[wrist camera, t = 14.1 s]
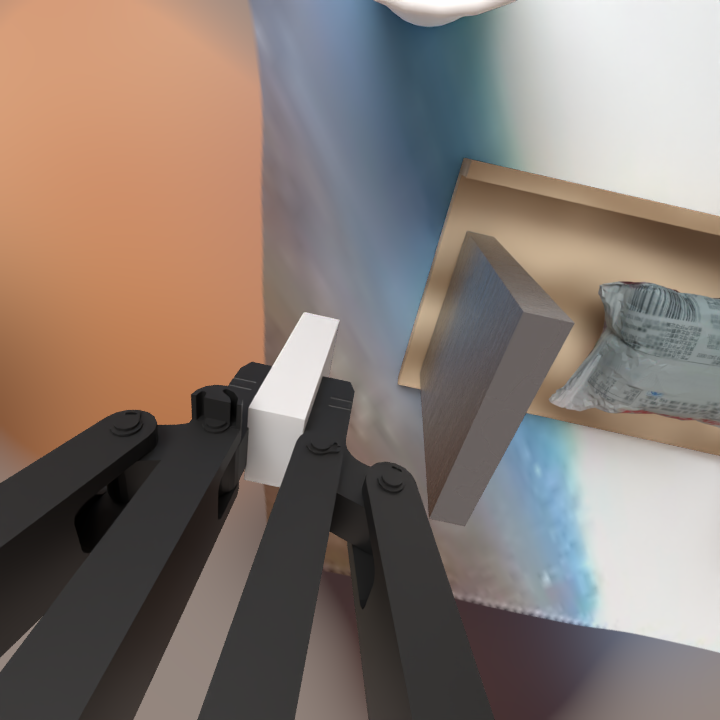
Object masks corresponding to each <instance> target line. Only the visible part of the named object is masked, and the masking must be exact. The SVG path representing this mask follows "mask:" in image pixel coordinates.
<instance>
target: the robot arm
mask: <svg viewBox="0 0 720 720" xmlns="http://www.w3.org/2000/svg"><path fill="white" fill-rule="evenodd" d="M338 325H339V320H338V319H333V318H329V317H324V316H319V315H315V314H310V313H306V312H304V313H303V315H302V316H301V318H300V320H299V321H298V323H297V325H296V327H295V328H294V330H293V332H292V333H291V335H290V337H289V339H288V340H287V342H286V344H285V346H284V347H283V349H282V351H281V352H280V354H279V356H278V358H277V359H276V361H275V363H274V365H273V366H269V365H264V364H260V363H255V362H251V363H249V364H247V365H245V366H243V367H242V368H240V370H239V371H238V373H237V374H236V375H235V377H234V379H232V381H231V382H230V384H229V386H223V385H213V386H206V387H203V388H200V389H198V390H196V391H195V392H194V393H192V394H191V403H192V420H191V421H190V422H189V423H187V424H179V425H157V422H156V419H155V417H154V416H153V415H151V414H150V413H148V412H145V411H141V410H126V411H121V412H117V413H114V414H112V415H110V416H108V417H106V418H104V419H103V420H101V421H99V422H98V423H96V424H95V425H93V426H91V427H90V428H88V429H86V430H85V431H83V432H82V433H80V434H78V435H77V436H75V437H74V438H72V439H71V440H69V441H67V442H66V443H64V444H62V445H61V446H59V447H58V448H56V449H55V450H53V451H51V452H50V453H48V454H46V455H45V456H43V457H42V458H40V459H38V460H37V461H35V462H34V463H32V464H30V465H29V466H28V467H26V468H24V469H22V470H21V471H19V472H18V473H16V474H14V475H13V476H11V477H10V478H8V479H7V480H5V481H3V482H2V483H0V657H1V656H2V655H3V654H4V653H5V652H6V651H7V650H8V649H9V648H10V647H11V646H13V644H15V643H16V641H18V640H19V639H20V638H21V637H22V636H23V635H24V634H25V633H26V632H27V631H28V630H29V629H30V628H31V627H32V626H33V625H34V624H35V623H36V622H37V621H38V620H39V619H40V618H41V617H42V616H43V617H42V618H41V619H40V621H39V622H38V623H37V625H36V626H35V627H34V628H33V630H32V631H31V632H30V634H29V635H28V636H27V638H26V639H25V640H24V642H23V643H22V644H21V646H20V647H19V648H18V650H17V651H16V652H15V653H14V655H13V656H12V657H11V659H10V660H9V662H8V663H7V664H6V666H5V667H4V668H3V669H2V671H1V672H0V720H133V719H134V717H135V715H136V712H137V711H138V708H139V706H140V704H141V702H142V700H143V698H144V695H145V693H146V691H147V689H148V687H149V685H150V682H151V680H152V678H153V676H154V674H155V672H156V669H157V667H158V665H159V663H160V661H161V659H162V656H163V654H164V652H165V650H166V648H167V646H168V643H169V641H170V639H171V637H172V635H173V633H174V631H175V628H176V626H177V624H178V622H179V620H180V617H181V615H182V613H183V611H184V609H185V607H186V605H187V602H188V600H189V598H190V596H191V594H192V591H193V589H194V587H195V585H196V583H197V581H198V579H199V577H200V574H201V572H202V570H203V568H204V566H205V563H206V561H207V559H208V557H209V555H210V553H211V551H212V548H213V546H214V544H215V542H216V540H217V538H218V535H219V533H220V531H221V529H222V527H223V525H224V522H225V520H226V518H227V516H228V514H229V512H230V509H231V507H232V505H233V503H234V501H235V499H236V497H237V494H238V489H239V480H240V477H241V475H242V473H243V471H244V469H245V475H244V479H245V480H248V481H253V482H258V483H262V484H267V485H272V486H276V487H280V489H279V492H278V494H277V497H276V500H275V503H274V506H273V508H272V511H271V514H270V517H269V520H268V523H267V525H266V528H265V531H264V534H263V537H262V539H261V542H260V545H259V548H258V551H257V554H256V556H255V559H254V562H253V565H252V568H251V570H250V573H249V576H248V579H247V582H246V585H245V588H244V590H243V593H242V596H241V599H240V601H239V604H238V607H237V610H236V613H235V616H234V618H233V621H232V624H231V627H230V629H229V632H228V635H227V638H226V641H225V644H224V647H223V649H222V652H221V655H220V658H219V660H218V663H217V666H216V669H215V672H214V675H213V678H212V680H211V683H210V686H209V689H208V691H207V694H206V697H205V700H204V703H203V705H202V708H201V711H200V714H199V717H198V720H294V719H295V713H296V708H297V703H298V697H299V692H300V687H301V682H302V676H303V671H304V665H305V660H306V654H307V649H308V644H309V639H310V633H311V628H312V623H313V617H314V612H315V606H316V601H317V595H318V590H319V584H320V579H321V574H322V569H323V563H324V558H325V553H326V547H327V542H328V536H329V531H330V532H332V533H333V534H335V535H337V536H339V537H340V538H342V539H344V540H346V541H347V542H348V543H347V546H348V554H349V562H350V570H351V579H352V587H353V595H354V603H355V612H356V619H357V628H358V636H359V645H360V653H361V661H362V669H363V677H364V686H365V694H366V703H367V711H368V719H369V720H495V719H494V716H493V714H492V710H491V707H490V704H489V701H488V699H487V695H486V692H485V690H484V686H483V683H482V680H481V677H480V674H479V671H478V668H477V665H476V662H475V659H474V656H473V653H472V650H471V647H470V644H469V641H468V638H467V635H466V632H465V629H464V626H463V623H462V620H461V617H460V614H459V611H458V608H457V605H456V602H455V599H454V596H453V593H452V590H451V587H450V584H449V581H448V578H447V575H446V572H445V569H444V566H443V563H442V560H441V557H440V554H439V551H438V548H437V545H436V542H435V539H434V536H433V533H432V530H431V527H430V524H429V521H428V518H427V515H426V512H425V509H424V506H423V503H422V500H421V497H420V494H419V491H418V488H417V485H416V482H415V480H414V478H413V476H412V475H411V474H410V473H409V472H408V471H407V470H406V469H405V468H403V467H401V466H399V465H397V464H395V463H390V462H381V463H376V464H375V465H373V466H371V467H369V466H367V465H365V464H363V463H361V462H360V461H358V460H356V459H355V458H354V457H353V456H352V455H351V454H350V452H349V451H348V449H347V446H346V435H347V430H348V424H349V419H350V414H351V408H352V403H353V397H354V389H353V387H352V385H351V383H350V382H347V381H342V380H338V379H333V378H329V374H330V368H331V363H332V358H333V352H334V347H335V342H336V336H337V331H338Z"/></svg>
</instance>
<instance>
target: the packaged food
mask: <svg viewBox="0 0 720 720" xmlns="http://www.w3.org/2000/svg"><path fill="white" fill-rule="evenodd" d="M599 287H600V288H599V291H598V294H599V296H600V298H601V300H602V302H603V305H604V311H605V321H604V327H603V331H602V334H601V336H600V338H599V339H598V341H597V342H596V344H595V346H594V348H593V350H592V351H591V352H590V354H589V355H588V357H587V358H586V359H585V360H584V361H583V363H582V364H581V365H580V366H579V368H578V369H577V370H576V372H575V373H574V374H573V375H572V376H571V378H570V379H569V380H568V381H567V383H566V384H565V385H564V386H563V387H562V388H560V389H557V390H556V393H555V394H552V396H551V397H550V398H549V401H550V402H551V403H552V404H554V405H557V406H559V407H561V408H566V409H569V410H576V411H583V410H587V409H590V408H597V409H599V410H602V411H604V412H608V413H629V414H657V415H661V416H664V417H668V418H674V419H678V420H681V421H684V420H696V421H698V422H701V423H704V424H708V425H712V426H715V427H719V428H720V298H710V297H707V296H702V295H696V294H690V293H680V292H679V291H677V290H675V289H670V288H666V287H664V286H660V285H657V284H654V283H648V282H630V281H618V282H612V283H604V284H602V285H599Z"/></svg>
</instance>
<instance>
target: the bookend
mask: <svg viewBox="0 0 720 720" xmlns="http://www.w3.org/2000/svg"><path fill="white" fill-rule="evenodd" d="M574 324H575V323H574V322H573V321H572V320H571V319H570V318H569V316H568V315H567V314H566V313H565V312H564V311H563V310H562V309H561V308H560V307H559V306H558V305H557V304H556V303H555V302H554V300H553V299H552V298H551V297H550V296H549V295H548V294H547V293H546V292H545V291H544V290H543V289H542V288H541V287H540V285H539V284H538V283H537V282H536V281H535V280H534V279H533V278H532V277H531V276H530V275H529V274H528V273H527V272H526V271H525V269H524V268H523V267H522V266H521V265H520V264H519V263H518V262H517V261H516V260H515V259H514V258H513V257H512V256H511V254H510V253H509V252H508V251H507V250H506V249H505V248H504V247H503V246H502V245H501V244H500V243H499V242H498V241H497V240H496V238H495V237H493V236H488V235H484V234H479V233H475V232H471V231H467V232H466V235H465V238H464V241H463V244H462V247H461V250H460V253H459V256H458V259H457V262H456V265H455V268H454V271H453V274H452V277H451V280H450V283H449V286H448V289H447V292H446V295H445V298H444V301H443V304H442V307H441V310H440V313H439V316H438V319H437V322H436V325H435V328H434V331H433V334H432V337H431V340H430V343H429V347H428V350H427V353H426V356H425V359H424V362H423V365H422V368H421V371H420V387H421V402H422V417H423V432H424V447H425V462H426V477H427V493H428V508H429V519H434V520H439V521H443V522H448V523H452V524H457V525H462V526H465V525H466V523H467V521H468V519H469V518H470V516H471V514H472V512H473V510H474V508H475V506H476V505H477V503H478V501H479V499H480V497H481V495H482V494H483V492H484V490H485V488H486V486H487V484H488V482H489V481H490V479H491V477H492V475H493V473H494V471H495V470H496V468H497V466H498V464H499V462H500V460H501V459H502V457H503V455H504V453H505V451H506V449H507V447H508V446H509V444H510V442H511V440H512V438H513V436H514V435H515V433H516V431H517V429H518V427H519V425H520V423H521V422H522V420H523V418H524V416H525V414H526V412H527V411H528V409H529V407H530V405H531V403H532V401H533V399H534V398H535V396H536V394H537V392H538V390H539V388H540V387H541V385H542V383H543V381H544V379H545V377H546V375H547V374H548V372H549V370H550V368H551V366H552V364H553V363H554V361H555V359H556V357H557V355H558V353H559V351H560V350H561V348H562V346H563V344H564V342H565V340H566V339H567V337H568V335H569V333H570V331H571V329H572V328H573V326H574Z"/></svg>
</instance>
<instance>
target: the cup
mask: <svg viewBox="0 0 720 720" xmlns="http://www.w3.org/2000/svg"><path fill="white" fill-rule="evenodd" d="M374 1H376V2H379V3H381V4H383V5H386V6H387V7H388V8H389V9H390V10H392V11H393V12H394V13H395V14H396V15H398V16H399V17H400V18H402V19H403V20H405V21H407V22H409V23H411V24H414V25H417V26H423V27H435V26H442V25H445V24H448V23H450V22H453V21H455V20H457V19H459V18H461V17H463V16H473V15H478V14H481V13H484V12H487V11H490V10H492V9H495V8H498V7H501V6H504V5H507V4H509V3H512V2H515V1H517V0H374Z"/></svg>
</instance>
